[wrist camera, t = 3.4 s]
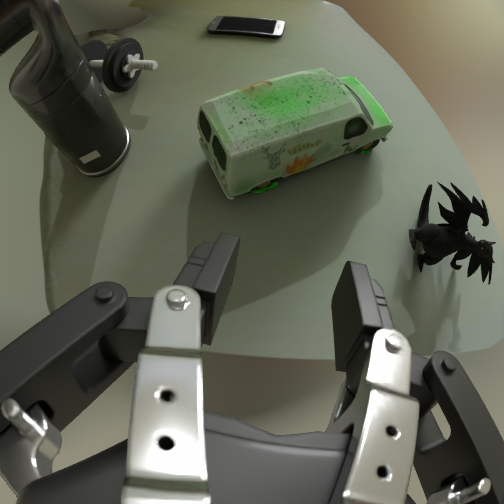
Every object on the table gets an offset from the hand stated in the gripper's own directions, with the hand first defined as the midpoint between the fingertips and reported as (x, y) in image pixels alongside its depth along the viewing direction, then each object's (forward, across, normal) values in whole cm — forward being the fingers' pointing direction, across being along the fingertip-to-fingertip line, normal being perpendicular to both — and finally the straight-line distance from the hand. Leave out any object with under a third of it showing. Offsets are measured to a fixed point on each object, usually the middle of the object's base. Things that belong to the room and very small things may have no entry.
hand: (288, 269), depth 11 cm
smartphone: (+52, +14, -20) cm, 57 cm away
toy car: (+31, 0, 0) cm, 31 cm away
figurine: (+24, -23, +7) cm, 34 cm away
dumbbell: (+38, +34, -6) cm, 51 cm away
